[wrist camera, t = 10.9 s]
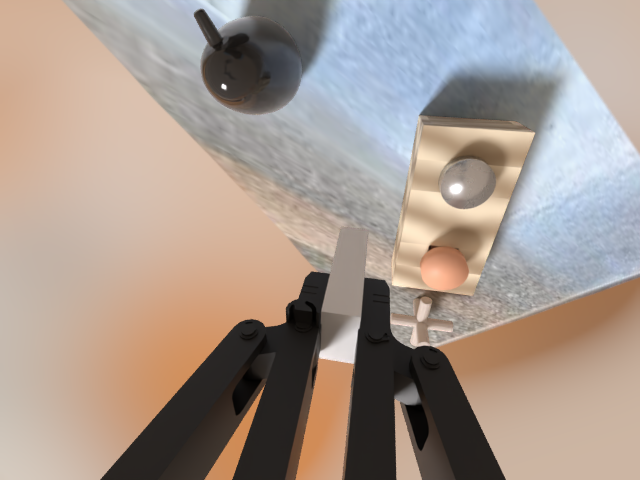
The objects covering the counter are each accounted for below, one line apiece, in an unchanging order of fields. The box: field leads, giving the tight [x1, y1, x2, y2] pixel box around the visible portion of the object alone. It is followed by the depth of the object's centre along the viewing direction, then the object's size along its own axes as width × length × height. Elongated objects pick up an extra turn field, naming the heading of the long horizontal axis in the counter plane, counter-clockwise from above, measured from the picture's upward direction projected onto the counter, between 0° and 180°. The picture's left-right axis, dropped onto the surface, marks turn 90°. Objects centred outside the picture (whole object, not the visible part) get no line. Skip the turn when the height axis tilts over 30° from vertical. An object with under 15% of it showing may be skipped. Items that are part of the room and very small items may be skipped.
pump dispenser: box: [194, 9, 302, 115], centre depth 35 cm, size 10×10×15 cm
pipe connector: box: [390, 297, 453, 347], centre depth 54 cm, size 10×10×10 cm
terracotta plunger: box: [420, 245, 469, 290], centre depth 45 cm, size 6×6×8 cm
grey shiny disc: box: [438, 156, 496, 209], centre depth 40 cm, size 6×6×8 cm
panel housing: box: [391, 115, 535, 296], centre depth 44 cm, size 24×12×6 cm, turn 178°
